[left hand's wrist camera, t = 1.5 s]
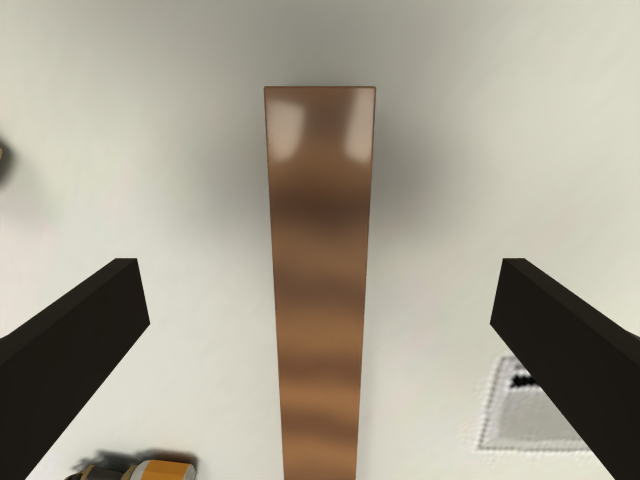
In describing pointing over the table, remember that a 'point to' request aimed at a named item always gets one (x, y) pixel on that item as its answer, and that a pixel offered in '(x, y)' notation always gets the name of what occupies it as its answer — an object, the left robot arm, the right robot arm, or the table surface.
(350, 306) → the post
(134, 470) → the spray gun
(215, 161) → the table surface
